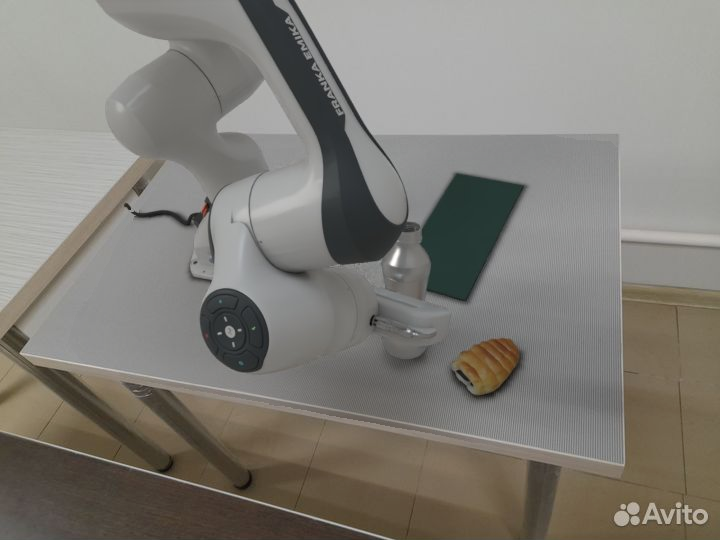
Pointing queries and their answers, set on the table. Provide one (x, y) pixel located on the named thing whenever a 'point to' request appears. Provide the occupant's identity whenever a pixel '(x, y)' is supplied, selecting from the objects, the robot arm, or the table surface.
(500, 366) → the pastry
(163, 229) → the table surface
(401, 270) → the plastic bottle
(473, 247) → the mat
